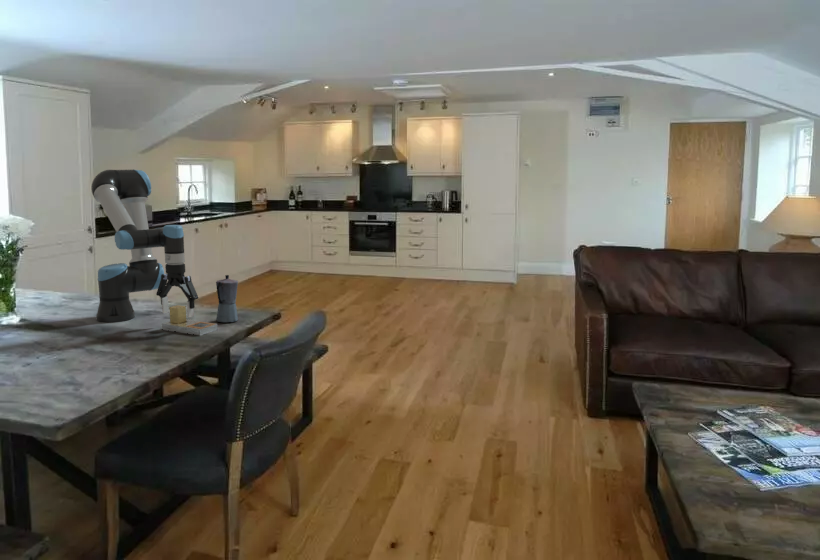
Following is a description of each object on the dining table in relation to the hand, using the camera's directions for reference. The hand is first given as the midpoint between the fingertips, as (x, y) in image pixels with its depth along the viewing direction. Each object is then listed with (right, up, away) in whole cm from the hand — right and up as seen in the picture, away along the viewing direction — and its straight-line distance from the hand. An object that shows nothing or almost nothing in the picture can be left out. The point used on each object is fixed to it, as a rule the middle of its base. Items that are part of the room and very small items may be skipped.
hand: (178, 314), depth 256 cm
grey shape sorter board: (+5, -6, -1) cm, 8 cm away
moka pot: (+16, -4, +13) cm, 21 cm away
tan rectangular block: (0, -6, +1) cm, 6 cm away
